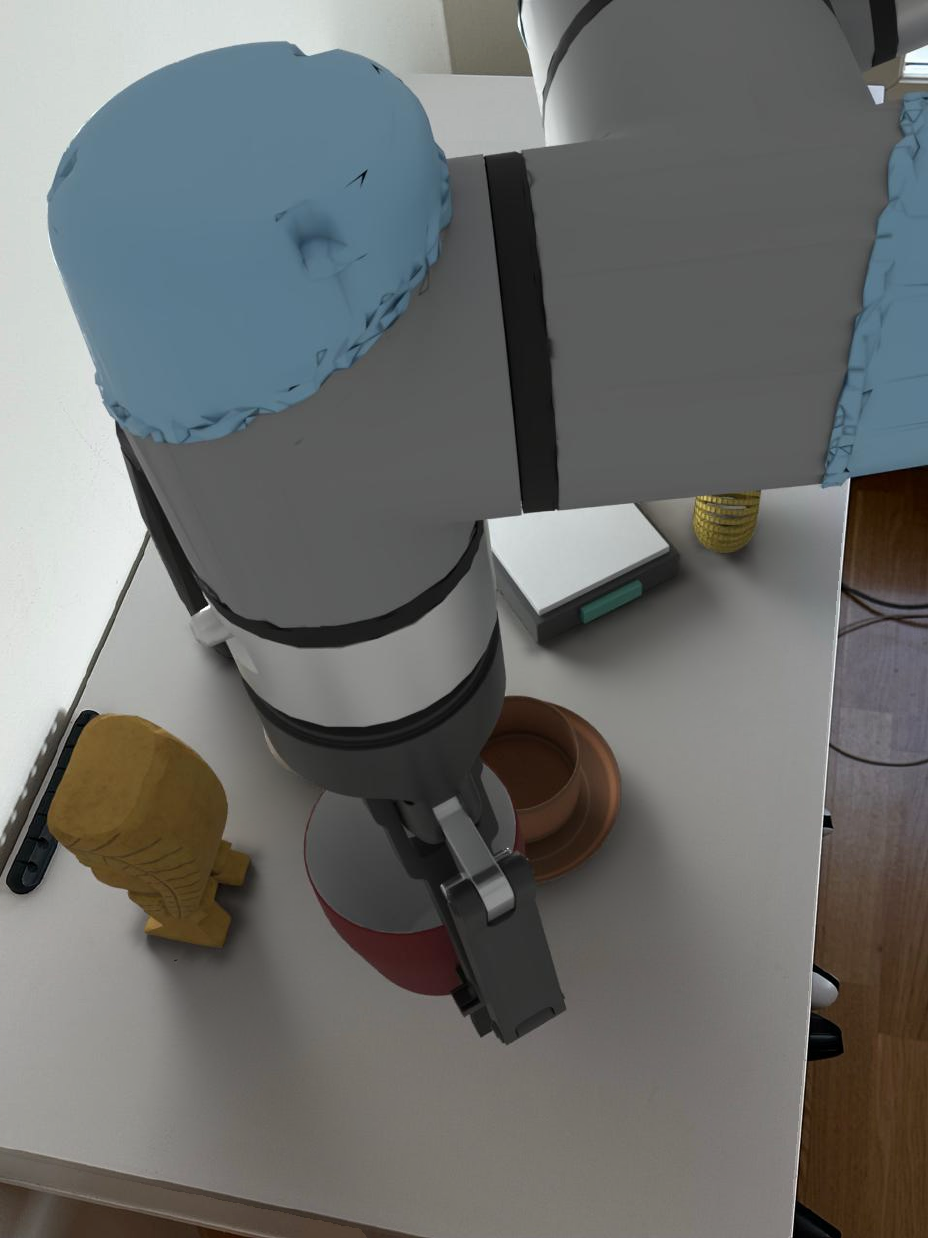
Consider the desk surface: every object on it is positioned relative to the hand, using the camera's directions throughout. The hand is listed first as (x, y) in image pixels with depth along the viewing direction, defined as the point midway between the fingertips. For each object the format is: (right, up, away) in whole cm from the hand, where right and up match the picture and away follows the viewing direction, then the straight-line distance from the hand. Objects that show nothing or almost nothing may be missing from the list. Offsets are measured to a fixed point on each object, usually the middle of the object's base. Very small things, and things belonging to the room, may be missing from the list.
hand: (450, 919), depth 53 cm
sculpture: (+18, +19, +30) cm, 40 cm away
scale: (+8, +17, +30) cm, 36 cm away
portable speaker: (-13, +13, +29) cm, 34 cm away
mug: (0, 0, +1) cm, 1 cm away
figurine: (-14, -3, +18) cm, 23 cm away
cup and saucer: (+4, +2, +20) cm, 20 cm away
